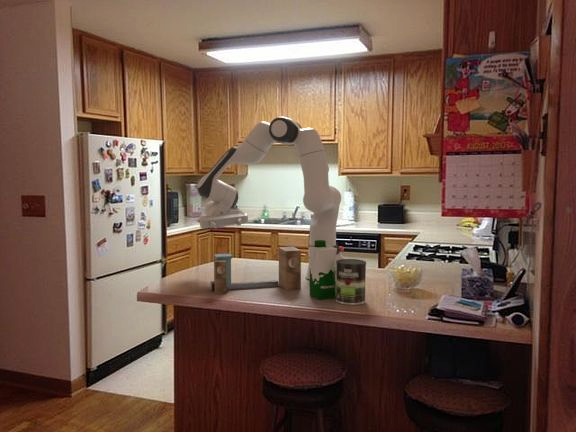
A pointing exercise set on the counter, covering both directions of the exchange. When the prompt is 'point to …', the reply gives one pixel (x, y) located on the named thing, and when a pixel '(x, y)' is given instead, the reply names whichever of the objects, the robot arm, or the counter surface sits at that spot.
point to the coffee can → (350, 281)
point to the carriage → (228, 265)
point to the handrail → (249, 285)
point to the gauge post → (220, 277)
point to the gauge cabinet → (290, 268)
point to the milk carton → (322, 270)
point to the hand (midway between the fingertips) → (228, 225)
